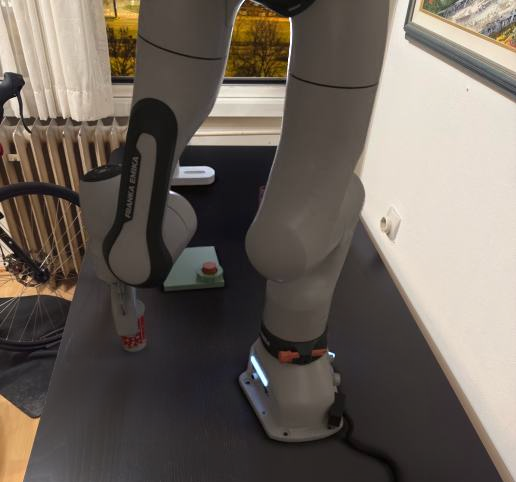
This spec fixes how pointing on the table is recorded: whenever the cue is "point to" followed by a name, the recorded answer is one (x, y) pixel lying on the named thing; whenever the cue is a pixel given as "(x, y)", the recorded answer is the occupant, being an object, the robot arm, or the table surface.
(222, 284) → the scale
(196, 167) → the bracket
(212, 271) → the tare button
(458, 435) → the table surface
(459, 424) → the table surface
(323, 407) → the robot arm
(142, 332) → the beverage cup
